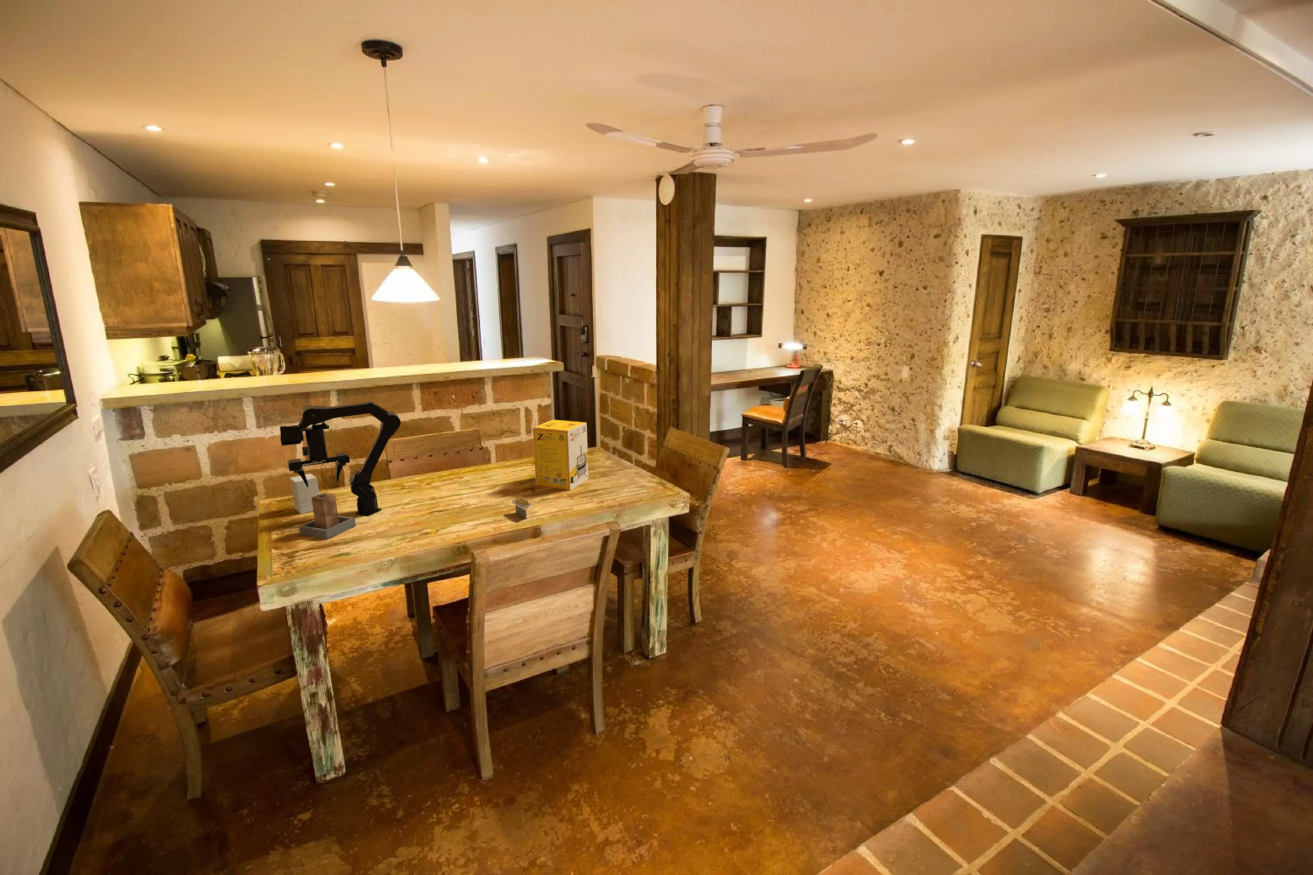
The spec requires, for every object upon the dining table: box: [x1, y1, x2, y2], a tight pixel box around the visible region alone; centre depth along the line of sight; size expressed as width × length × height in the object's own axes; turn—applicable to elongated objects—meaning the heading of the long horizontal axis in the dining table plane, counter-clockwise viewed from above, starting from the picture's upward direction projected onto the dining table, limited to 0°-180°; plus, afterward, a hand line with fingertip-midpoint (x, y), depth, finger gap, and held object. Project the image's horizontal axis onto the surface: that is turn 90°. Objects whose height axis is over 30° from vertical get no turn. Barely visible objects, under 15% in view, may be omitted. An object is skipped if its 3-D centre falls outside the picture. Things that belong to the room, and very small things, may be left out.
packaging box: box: [532, 419, 589, 491], centre depth 253 cm, size 16×16×25 cm
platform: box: [511, 496, 532, 520], centre depth 219 cm, size 12×18×7 cm, turn 39°
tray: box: [298, 515, 357, 540], centre depth 206 cm, size 12×12×3 cm
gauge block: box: [311, 492, 339, 530], centre depth 205 cm, size 5×5×12 cm
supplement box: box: [289, 473, 320, 515], centre depth 225 cm, size 7×7×13 cm
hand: (322, 484), depth 214 cm, fingers open, 9 cm apart
